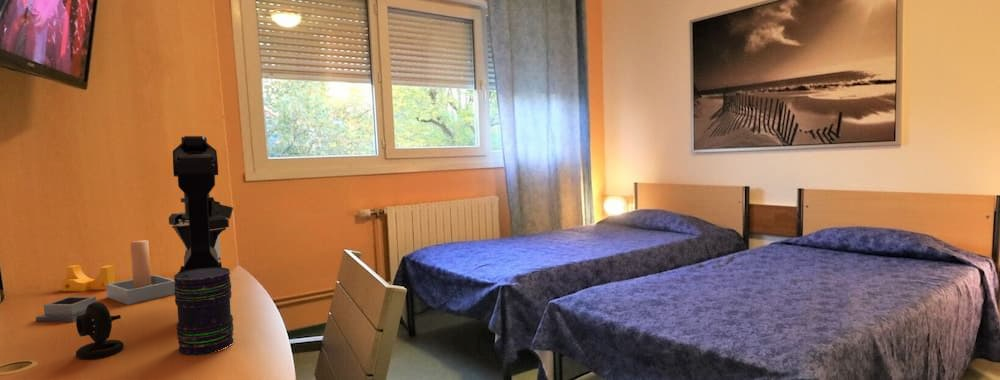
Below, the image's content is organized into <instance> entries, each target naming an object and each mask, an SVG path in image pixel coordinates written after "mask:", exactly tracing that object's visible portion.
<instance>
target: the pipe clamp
mask: <svg viewBox="0 0 1000 380" xmlns="http://www.w3.org/2000/svg"><path fill="white" fill-rule="evenodd" d="M81 266H82V265H81V264H73V265H69V266H67V267H65V269H66V271H65V272H66V278H65V279H64V278H63V279H62V280H61V289H62V290H61V291H62V292H87V291H89V290H90V291H91V290H106V291H107V286H106V284H111V283H116V271H115V265H111V264H107V265H104V266H101V267H100V268H99V269H100V270H99V273H98V275H97V277H96V278H91V277H88V276H87V275H86V274H85V272H83V270H82V267H81Z"/></svg>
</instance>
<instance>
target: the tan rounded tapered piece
mask: <svg viewBox="0 0 1000 380" xmlns="http://www.w3.org/2000/svg"><path fill="white" fill-rule="evenodd" d="M129 245H130V256H131V257H130V258H131V271H132V273H131V274H132V279H133V287H132V288H133V289H136V288H140V287H145V286H150V285H152V284H151V276H152V275H151V262H150V261H151V258H150V247H149V245H150V242H149V240H148V239H145V240H144V239H142V240H134V241H130V243H129Z"/></svg>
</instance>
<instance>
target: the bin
mask: <svg viewBox="0 0 1000 380" xmlns="http://www.w3.org/2000/svg"><path fill="white" fill-rule="evenodd" d="M151 284H152V285H150V286H145V287H140V288H136V289H133V288H132V287H133V278H131V279H127V280H122V281H117V282H116V281H115V283H111V284H106V286H107V290H106V297H107V298H108V299H112V300H113V301H117V302H119V303H122V304H125V305H133V304H136V303H140V302H146V301H149V300H155V299H159V298H163V297H167V296H172V295H174V294H175V293H174V289H175V281H174V278H173V279H172V278H169V277H165V276H162V275H158V274H153V275H151Z"/></svg>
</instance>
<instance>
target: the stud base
mask: <svg viewBox="0 0 1000 380" xmlns="http://www.w3.org/2000/svg"><path fill="white" fill-rule="evenodd" d="M94 302H97V297H96V296H67V297H64V298H61V299H59V300H54V301H51V302H49V303H46V304H43V311H44V313H43V314H40V315H37V316H35V322H55V323H57V322H58V323H60V322H61V323H73V322H76V318H77V316H79V315H83V314H85V312H86V308H87V306H88V305H90V304H92V303H94Z"/></svg>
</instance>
